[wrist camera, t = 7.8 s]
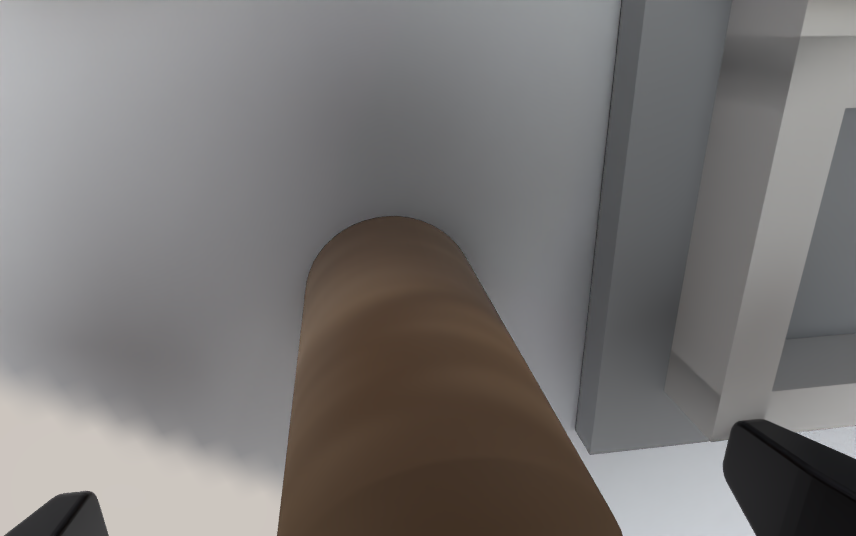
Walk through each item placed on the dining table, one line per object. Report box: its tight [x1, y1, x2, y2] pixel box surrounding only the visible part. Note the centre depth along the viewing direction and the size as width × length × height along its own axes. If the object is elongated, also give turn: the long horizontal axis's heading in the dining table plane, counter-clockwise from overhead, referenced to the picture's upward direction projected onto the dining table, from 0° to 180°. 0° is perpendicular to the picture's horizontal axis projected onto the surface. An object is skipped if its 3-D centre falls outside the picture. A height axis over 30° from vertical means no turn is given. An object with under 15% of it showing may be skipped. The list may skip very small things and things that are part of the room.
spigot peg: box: [277, 216, 623, 536], centre depth 10 cm, size 4×4×8 cm
